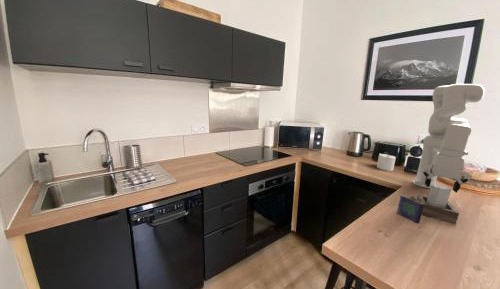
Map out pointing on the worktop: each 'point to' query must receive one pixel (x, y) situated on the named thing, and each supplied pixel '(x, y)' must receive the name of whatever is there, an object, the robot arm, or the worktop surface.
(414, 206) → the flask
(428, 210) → the holder
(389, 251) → the worktop surface
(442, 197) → the skincare box
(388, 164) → the toilet tissue
